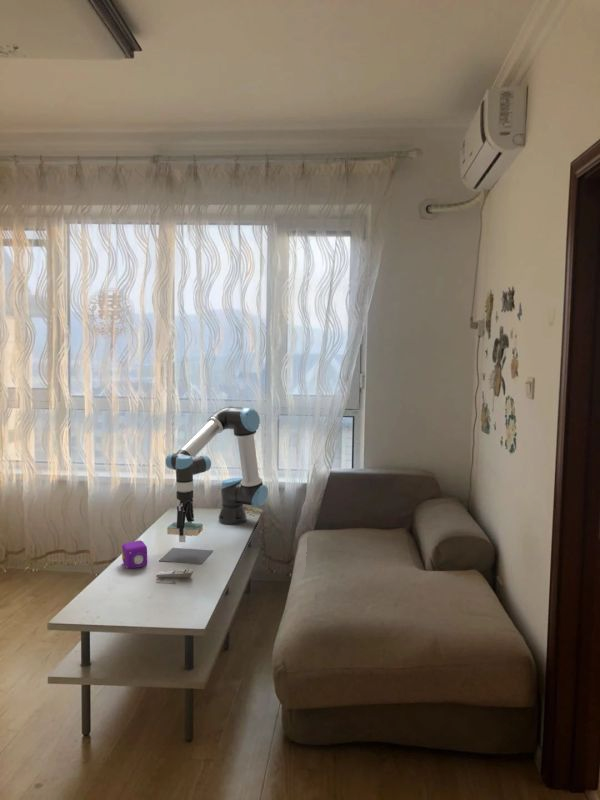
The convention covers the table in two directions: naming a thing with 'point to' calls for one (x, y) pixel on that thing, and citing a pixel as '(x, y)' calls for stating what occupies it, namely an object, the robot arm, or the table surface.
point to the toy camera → (134, 554)
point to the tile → (186, 529)
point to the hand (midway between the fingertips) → (185, 538)
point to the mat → (186, 556)
